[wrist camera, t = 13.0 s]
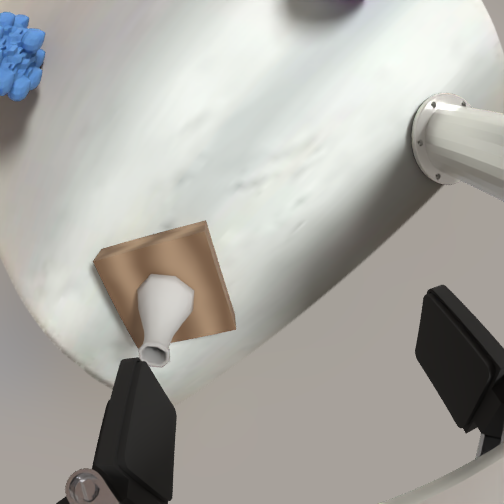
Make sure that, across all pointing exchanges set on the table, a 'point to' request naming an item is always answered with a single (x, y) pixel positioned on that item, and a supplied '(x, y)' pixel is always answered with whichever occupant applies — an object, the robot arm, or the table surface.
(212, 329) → the flat wooden block
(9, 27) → the grapes
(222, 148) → the table surface
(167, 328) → the flask
